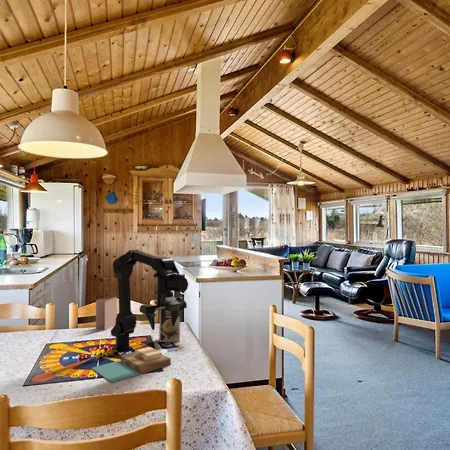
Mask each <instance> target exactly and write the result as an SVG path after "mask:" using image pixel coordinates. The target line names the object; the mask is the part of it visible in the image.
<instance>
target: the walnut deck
mask: <svg viewBox="0 0 450 450" xmlns="http://www.w3.org/2000/svg"><path fill="white" fill-rule="evenodd" d="M171 360H172V359H171V357H168V356H166V355H164V354H162V353H161V358H157V359H154V360H150V361H147V360H145V359H143V358H141V357H139V356H137V355H136V351H133V352H129V353H125V354H121V355H120V362H122V363H123V364H125V365H127V366H128V367H130V368H132V369H134V370H135V371H137V372H139V373H140V375H143V374H145V373H149V372H153V371H155V370H159V369H161V368H166V367H168V366H171V364H172V363H171V362H172V361H171Z"/></svg>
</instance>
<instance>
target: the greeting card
mask: <svg viewBox="0 0 450 450" xmlns="http://www.w3.org/2000/svg"><path fill="white" fill-rule="evenodd" d="M117 303H118V297H117V296H115V297H114V296H113V297H106V298H100V299H96V300H95V329H100V328H104V331H107V330H109V329H111V328H113V327H114V326H115V323H116V317H117V315H118V304H117Z"/></svg>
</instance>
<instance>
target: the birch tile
mask: <svg viewBox="0 0 450 450" xmlns="http://www.w3.org/2000/svg"><path fill="white" fill-rule="evenodd" d="M135 352H136V355H137V356H139V357H141V358H143V359H145V360H147V361H150V360H154V359H157V358H161V354H162V352H161V351H160V350H158V349H155V348H153V347H151V346H146V347H144V348H139V349H135Z"/></svg>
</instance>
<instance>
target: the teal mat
mask: <svg viewBox="0 0 450 450" xmlns="http://www.w3.org/2000/svg"><path fill="white" fill-rule="evenodd" d="M91 370H93V371H94V372H95V373H97V374H99V375H100V376H101V377H102V378H104V379H105V380H107V381H108V382H109V383H111V384H114V383H117V382H121V381H125V380H128V379H131V378H134V377H137V376H141V374H140V373H139V372H137V371H135V370H134V369H132V368H130V367H128V366H127V365H125V364H123V363H122V362H121V360H117V361H113V362H109V363H105V364H102V365H97V366H94V367H93V366H92V367H91Z"/></svg>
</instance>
